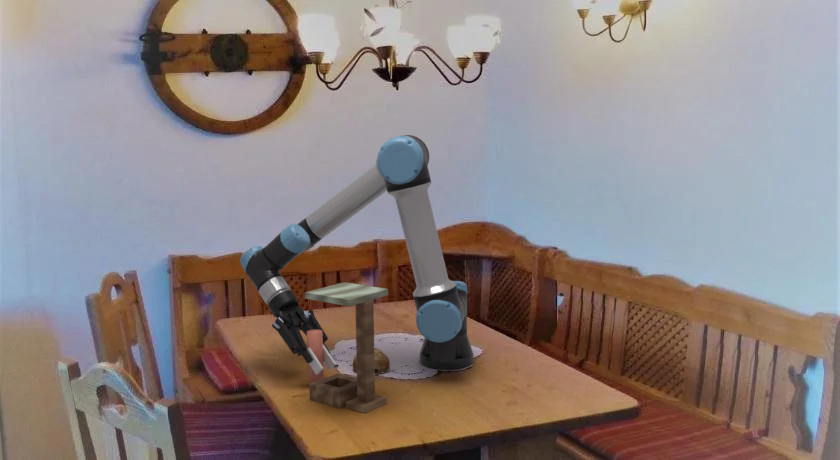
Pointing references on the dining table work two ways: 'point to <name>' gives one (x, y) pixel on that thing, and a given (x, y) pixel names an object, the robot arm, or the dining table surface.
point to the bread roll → (376, 361)
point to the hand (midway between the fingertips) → (326, 369)
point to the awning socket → (362, 388)
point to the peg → (317, 347)
